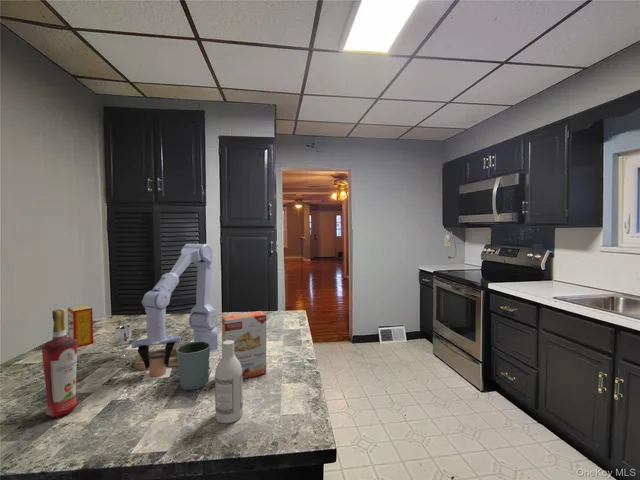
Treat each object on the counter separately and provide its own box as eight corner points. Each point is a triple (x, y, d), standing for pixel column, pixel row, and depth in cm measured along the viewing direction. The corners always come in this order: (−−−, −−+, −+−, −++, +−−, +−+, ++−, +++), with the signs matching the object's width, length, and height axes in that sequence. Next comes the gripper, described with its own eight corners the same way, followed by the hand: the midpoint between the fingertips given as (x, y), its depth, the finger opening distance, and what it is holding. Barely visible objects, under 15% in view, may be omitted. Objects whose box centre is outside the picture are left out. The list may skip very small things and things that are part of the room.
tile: (172, 369, 108) (171, 367, 108) (169, 378, 102) (169, 376, 102) (146, 372, 106) (146, 371, 106) (142, 382, 99) (141, 380, 99)
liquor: (69, 402, 88) (66, 305, 87) (85, 407, 85) (82, 308, 84) (38, 416, 81) (34, 312, 80) (54, 423, 79) (50, 315, 78)
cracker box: (225, 384, 98) (224, 319, 97) (221, 376, 104) (220, 315, 103) (267, 374, 105) (266, 314, 104) (262, 367, 110) (261, 309, 109)
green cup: (217, 378, 102) (216, 342, 102) (195, 393, 92) (194, 354, 92) (192, 373, 105) (192, 339, 105) (169, 388, 96) (168, 350, 95)
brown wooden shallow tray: (184, 354, 121) (184, 346, 121) (181, 366, 111) (181, 357, 111) (141, 360, 116) (141, 351, 116) (134, 372, 106) (134, 363, 106)
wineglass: (123, 361, 115) (122, 330, 115) (110, 360, 116) (110, 329, 116) (135, 355, 121) (135, 325, 120) (123, 354, 122) (122, 324, 121)
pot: (166, 369, 107) (166, 351, 107) (165, 375, 103) (164, 357, 102) (150, 371, 106) (150, 353, 105) (148, 378, 101) (147, 359, 101)
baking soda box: (68, 342, 134) (67, 306, 134) (86, 338, 139) (85, 304, 139) (74, 348, 128) (73, 310, 128) (93, 343, 133) (92, 307, 133)
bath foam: (233, 405, 86) (232, 335, 86) (248, 415, 82) (247, 341, 81) (210, 417, 81) (209, 342, 80) (225, 428, 76) (224, 349, 76)
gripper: (128, 332, 97) (129, 374, 98) (178, 327, 102) (179, 367, 102) (134, 325, 104) (135, 365, 104) (180, 321, 109) (181, 359, 109)
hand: (157, 365), depth 104 cm, fingers open, 5 cm apart
